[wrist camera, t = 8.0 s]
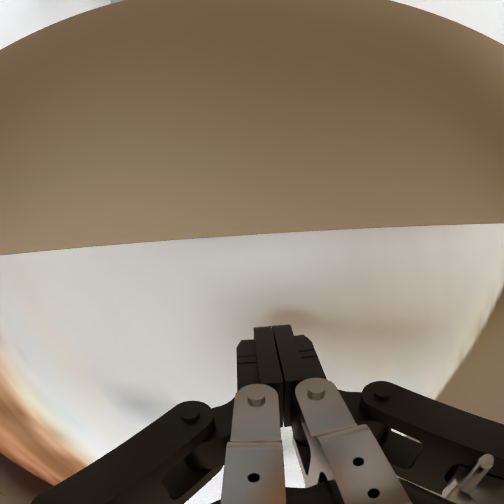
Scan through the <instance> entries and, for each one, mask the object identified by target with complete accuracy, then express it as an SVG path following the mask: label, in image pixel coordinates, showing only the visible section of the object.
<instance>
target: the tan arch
mask: <svg viewBox="0 0 504 504" xmlns="http://www.w3.org/2000/svg"><path fill="white" fill-rule="evenodd" d="M491 223H504V45H503V44H501V43H499V42H497V41H495V40H493V39H491V38H489V37H487V36H485V35H483V34H481V33H479V32H477V31H475V30H473V29H470V28H468V27H466V26H463V25H461V24H459V23H456V22H454V21H451V20H449V19H446V18H444V17H441V16H438V15H436V14H433V13H430V12H427V11H424V10H421V9H418V8H415V7H411V6H408V5H405V4H401V3H397V2H394V1H390V0H124V1H120V2H117V3H113V4H109V5H106V6H103V7H99V8H96V9H93V10H90V11H87V12H84V13H81V14H78V15H75V16H73V17H70V18H67V19H65V20H62V21H60V22H57V23H55V24H52V25H50V26H48V27H45V28H43V29H41V30H39V31H37V32H34V33H32V34H30V35H28V36H26V37H24V38H22V39H20V40H18V41H16V42H14V43H12V44H11V45H9V46H7V47H5V48H3V49H1V50H0V255H8V254H18V253H28V252H38V251H49V250H59V249H70V248H81V247H93V246H104V245H116V244H128V243H141V242H154V241H167V240H180V239H194V238H208V237H222V236H237V235H253V234H269V233H285V232H303V231H321V230H339V229H359V228H381V227H404V226H429V225H457V224H491Z"/></svg>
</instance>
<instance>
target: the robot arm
mask: <svg viewBox="0 0 504 504" xmlns="http://www.w3.org/2000/svg"><path fill="white" fill-rule="evenodd" d="M253 330H254V340H241V342H240V343H239V345H238V346H237V388H238V389H237V393H236V395H235V397H234V398H233V399H232V400H231V401H230V402H228V403H227V404H225V405H222V406H219V407H215V408H212V409H211V408H210V407H209V406H208V405H207V404H205V403H203V402H199V401H187V402H183V403H180V404H178V405H176V406H175V407H174V408H172V409H171V410H169V411H168V412H167V413H165V414H164V415H163V416H161V417H160V418H158V419H157V420H156V421H154V422H153V423H151V424H150V425H149V426H147V427H146V428H144V429H143V430H142V431H140V432H139V433H137V434H136V435H134V436H133V437H131V438H130V439H128V440H127V441H126V442H124V443H123V444H121V445H120V446H118V447H117V448H115V449H114V450H112V451H111V452H109V453H107V454H106V455H104V456H103V457H101V458H100V459H98V460H97V461H95V462H93V463H92V464H90V465H89V466H87V467H85V468H84V469H82V470H81V471H79V472H77V473H76V474H74V475H72V476H71V477H69V478H67V479H66V480H64V481H62V482H61V483H59V484H57V485H55V486H54V487H52V488H50V489H48V490H47V491H45V492H43V493H41V494H39V495H38V496H37V497H35V498H34V500H33V501H32V503H31V504H184V503H185V502H186V501H187V500H189V499H190V498H191V497H192V496H193V495H194V494H195V493H197V492H198V491H199V490H200V489H201V488H202V487H203V486H204V485H205V484H206V483H208V482H209V481H210V480H211V479H212V478H213V477H214V476H215V475H216V474H217V473H218V472H219V471H220V470H221V469H222V467H223V465H225V466H224V475H223V485H222V495H221V500H218V501H216V502H213V503H211V504H504V425H503V424H500V423H497V422H494V421H491V420H488V419H485V418H482V417H479V416H476V415H473V414H471V413H468V412H465V411H462V410H459V409H457V408H454V407H451V406H448V405H446V404H443V403H440V402H438V401H435V400H433V399H430V398H427V397H425V396H422V395H420V394H417V393H415V392H412V391H410V390H407V389H405V388H402V387H400V386H397V385H395V384H392V383H390V382H386V381H376V382H372V383H370V384H368V385H367V386H365V387H364V389H363V391H362V393H361V392H345V391H341V390H338V389H337V388H336V386H335V385H334V384H333V383H332V382H331V381H329V380H327V379H326V376H325V374H324V371H323V369H322V366H321V364H320V361H319V359H318V357H317V354H316V352H315V350H314V347H313V344H312V342H311V341H310V340H309V339H308V338H307V337H305V336H304V335H298V336H294V335H293V332H292V329H291V326H290V325H279V326H272V328H271V326H268V327H255V328H253ZM283 422H284V427H287V426H292V431H293V441H292V442H293V446H294V449H295V452H296V455H297V458H298V462H299V465H300V468H301V471H302V474H303V477H304V481H305V488H289V487H285V476H284V460H283V445H282V440H281V430H280V427H283ZM391 428H392V429H394V430H397V431H399V432H401V433H403V434H406V435H408V436H410V437H413V438H415V439H417V440H419V441H420V442H421V443H422V444H421V443H418V442H415V441H413V440H411V439H408V438H406V437H404V436H402V435H400V434H397V433H395V432H393V431H391ZM396 475H397V476H399V477H401V478H404V479H406V480H408V481H410V482H413V483H415V484H417V485H419V486H422V487H424V488H426V489H429V490H431V491H434V492H436V493H439V494H441V495H442V497H443V498H442V497H440V496H438V495H435V494H433V493H431V492H429V491H427V490H424V489H422V488H420V487H418V486H416V485H414V484H412V483H410V482H408V481H405V480H403V479H400V478H398V477H397V476H396Z"/></svg>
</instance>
